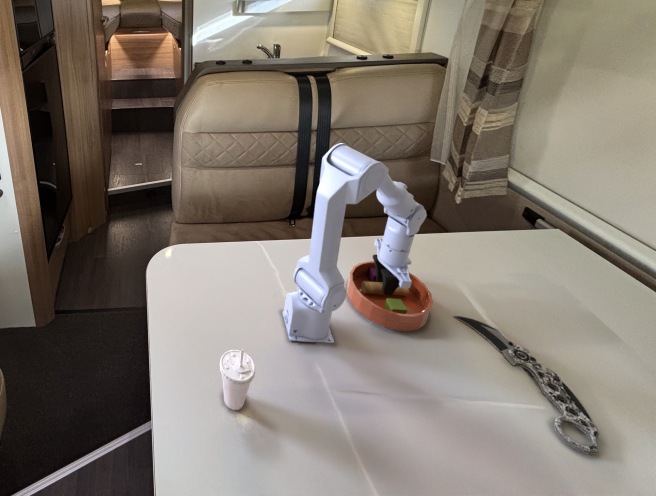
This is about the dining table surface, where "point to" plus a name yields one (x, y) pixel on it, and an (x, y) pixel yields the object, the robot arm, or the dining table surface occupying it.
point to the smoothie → (236, 377)
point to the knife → (544, 385)
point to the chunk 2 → (395, 306)
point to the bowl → (374, 304)
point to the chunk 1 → (372, 274)
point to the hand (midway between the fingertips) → (384, 288)
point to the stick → (377, 289)
